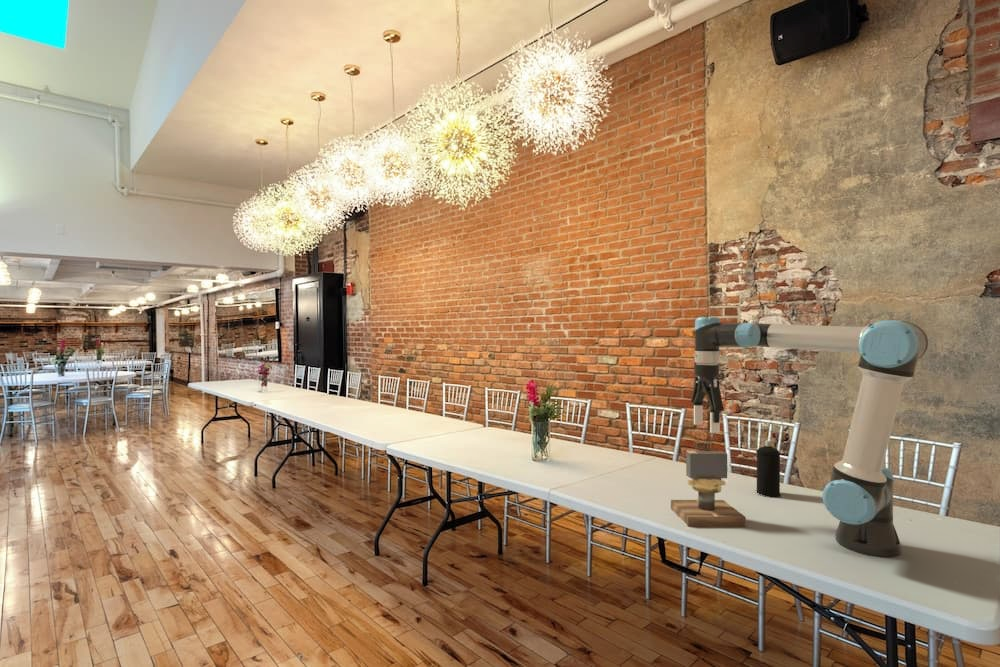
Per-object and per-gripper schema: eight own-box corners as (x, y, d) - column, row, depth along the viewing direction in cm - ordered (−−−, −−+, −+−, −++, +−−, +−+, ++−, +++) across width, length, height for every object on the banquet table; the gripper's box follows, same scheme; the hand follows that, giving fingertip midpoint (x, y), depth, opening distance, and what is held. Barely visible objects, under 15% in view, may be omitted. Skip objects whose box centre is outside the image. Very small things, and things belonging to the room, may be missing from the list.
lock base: (745, 526, 159) (745, 497, 159) (688, 526, 159) (688, 497, 159) (723, 508, 175) (723, 482, 175) (670, 508, 175) (670, 482, 175)
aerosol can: (779, 498, 185) (780, 444, 185) (754, 495, 190) (754, 441, 189) (781, 492, 192) (781, 440, 192) (756, 489, 197) (757, 437, 196)
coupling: (730, 493, 162) (731, 455, 162) (693, 493, 162) (693, 455, 162) (718, 484, 171) (718, 448, 171) (683, 484, 171) (683, 448, 171)
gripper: (681, 361, 179) (681, 421, 179) (711, 366, 154) (710, 436, 154) (702, 361, 179) (702, 421, 179) (735, 366, 154) (735, 436, 154)
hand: (706, 428), depth 167 cm, fingers open, 13 cm apart
